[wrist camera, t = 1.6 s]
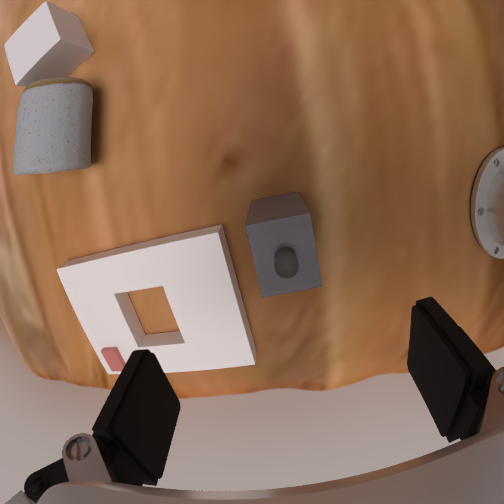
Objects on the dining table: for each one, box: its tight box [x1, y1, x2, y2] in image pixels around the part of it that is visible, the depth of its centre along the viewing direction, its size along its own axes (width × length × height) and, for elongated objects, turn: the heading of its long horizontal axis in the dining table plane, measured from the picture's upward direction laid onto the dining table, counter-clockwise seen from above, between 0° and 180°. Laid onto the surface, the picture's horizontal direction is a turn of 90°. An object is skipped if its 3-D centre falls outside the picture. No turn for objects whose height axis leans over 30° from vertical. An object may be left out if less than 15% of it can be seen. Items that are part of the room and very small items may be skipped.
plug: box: [245, 192, 322, 297], centre depth 22 cm, size 4×5×10 cm
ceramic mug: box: [13, 77, 93, 175], centre depth 20 cm, size 11×8×8 cm
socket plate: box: [57, 225, 256, 374], centre depth 29 cm, size 18×14×3 cm
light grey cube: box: [4, 1, 95, 86], centre depth 18 cm, size 6×6×6 cm
